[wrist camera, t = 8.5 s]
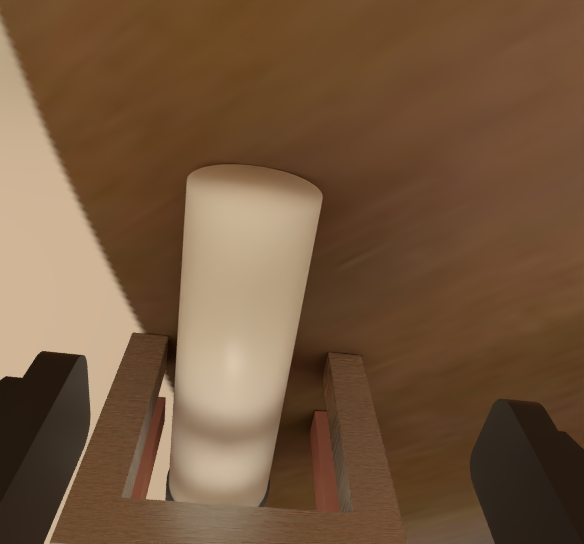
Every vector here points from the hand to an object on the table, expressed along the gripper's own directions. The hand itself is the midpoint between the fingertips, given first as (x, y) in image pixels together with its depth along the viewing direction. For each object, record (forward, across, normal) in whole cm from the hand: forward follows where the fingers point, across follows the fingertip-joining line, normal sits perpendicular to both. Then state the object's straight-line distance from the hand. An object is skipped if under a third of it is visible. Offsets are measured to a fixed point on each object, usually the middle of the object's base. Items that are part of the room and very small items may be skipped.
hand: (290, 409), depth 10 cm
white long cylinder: (+10, 0, +7) cm, 12 cm away
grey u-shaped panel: (+10, +1, +7) cm, 13 cm away
